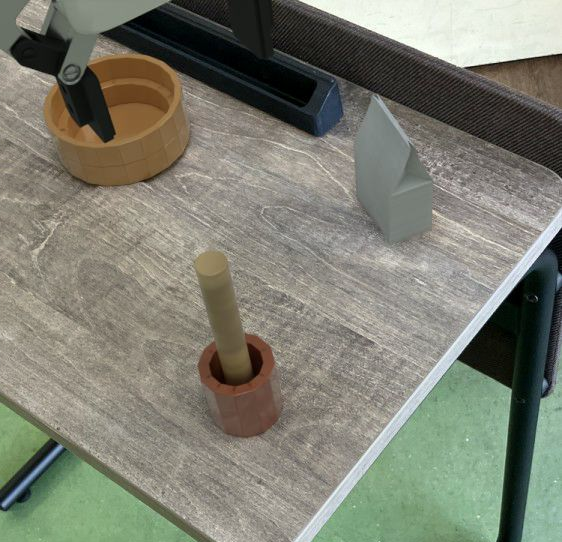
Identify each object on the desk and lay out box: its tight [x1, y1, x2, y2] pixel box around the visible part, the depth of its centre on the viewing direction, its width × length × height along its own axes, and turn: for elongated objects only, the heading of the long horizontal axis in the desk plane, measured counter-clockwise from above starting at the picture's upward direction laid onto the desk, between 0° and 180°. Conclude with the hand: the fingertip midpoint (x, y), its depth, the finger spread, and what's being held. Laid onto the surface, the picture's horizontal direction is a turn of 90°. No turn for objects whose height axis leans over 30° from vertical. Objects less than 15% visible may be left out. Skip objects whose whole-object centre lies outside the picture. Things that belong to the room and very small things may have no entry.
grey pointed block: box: [353, 93, 435, 246], centre depth 75 cm, size 4×7×10 cm, turn 21°
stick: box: [193, 249, 254, 386], centre depth 63 cm, size 2×2×16 cm
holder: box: [197, 332, 284, 438], centre depth 68 cm, size 5×5×6 cm
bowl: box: [42, 52, 191, 187], centre depth 86 cm, size 12×12×5 cm
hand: (177, 85), depth 50 cm, fingers open, 9 cm apart
